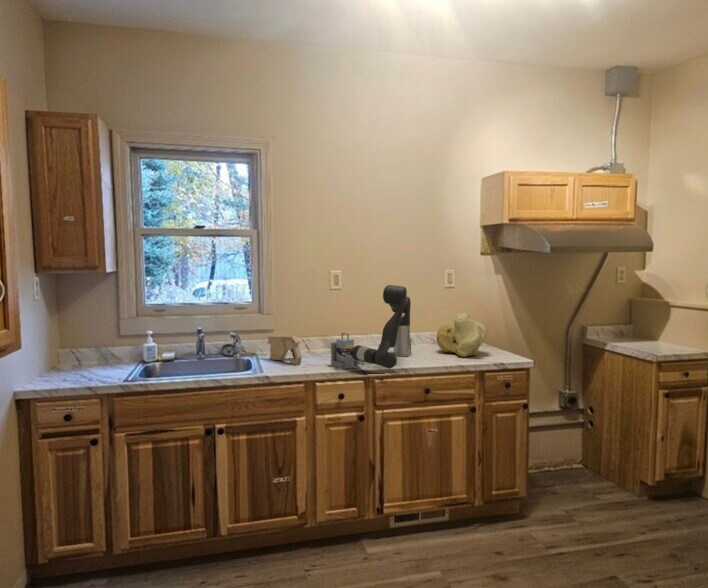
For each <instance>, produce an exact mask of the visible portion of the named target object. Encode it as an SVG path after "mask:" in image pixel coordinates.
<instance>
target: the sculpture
mask: <svg viewBox="0 0 708 588" xmlns="http://www.w3.org/2000/svg"><path fill="white" fill-rule="evenodd" d="M486 338H487V328H486V326H485V325H484V324H482V323H481V322H479V320H478V321H477V320H475V319H472V318H471V316H470V314H469V313H466V312H463V311H462V312H459V311H458V312H457V313H456V314H455V317H454V320H453V322H448V323H444V324H442V325H441V326H440V327H439V329H438V330H437V333H436V343H437V345H438V347H439V349H440V350H441V351H442V352H444V353H448V352H451V353H455V354H456V355H457V356H458V357H459V356H460V357H461V358H465V357H470V356H476V355H477V353H478V352H479V349H480V347H481V346H482V344H483V342H484V341H485V339H486Z"/></svg>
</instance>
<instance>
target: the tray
mask: <svg viewBox="0 0 708 588" xmlns="http://www.w3.org/2000/svg"><path fill="white" fill-rule="evenodd" d="M358 365H362V366H368V365H372V364H371V363H366V362H361V361H358Z"/></svg>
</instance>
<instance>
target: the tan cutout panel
mask: <svg viewBox="0 0 708 588" xmlns="http://www.w3.org/2000/svg"><path fill="white" fill-rule="evenodd" d="M267 343H268V344H269V345H270V348H269V354H270V355H269V360H271V361H284V362H285V361H286V362H290V364H293V365H295V366H300V365H301V363H302V359H303V355H302V353H301V350H300V346H299V344H301V341H300V340H299V339H298V338H297V336H296V335H268V336H267ZM289 351H290V353H291V356H292V357H286V356H287V354H288V352H289Z"/></svg>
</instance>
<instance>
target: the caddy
mask: <svg viewBox="0 0 708 588" xmlns="http://www.w3.org/2000/svg"><path fill="white" fill-rule="evenodd" d="M344 335H345V336H346V335H347V336H346V337H344ZM349 337H350V335H349V333H346V332H341V338H336V341H335V342H336V358H337V361H339V362H343V363H344V369H348V368H349V369H350V368H353V367H355V366H354V359H353V357H352V356H348V355H346V356H342V355H339V354H338V352H337V348H341V349H345V348H353V347H355V339H352V338H349Z"/></svg>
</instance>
